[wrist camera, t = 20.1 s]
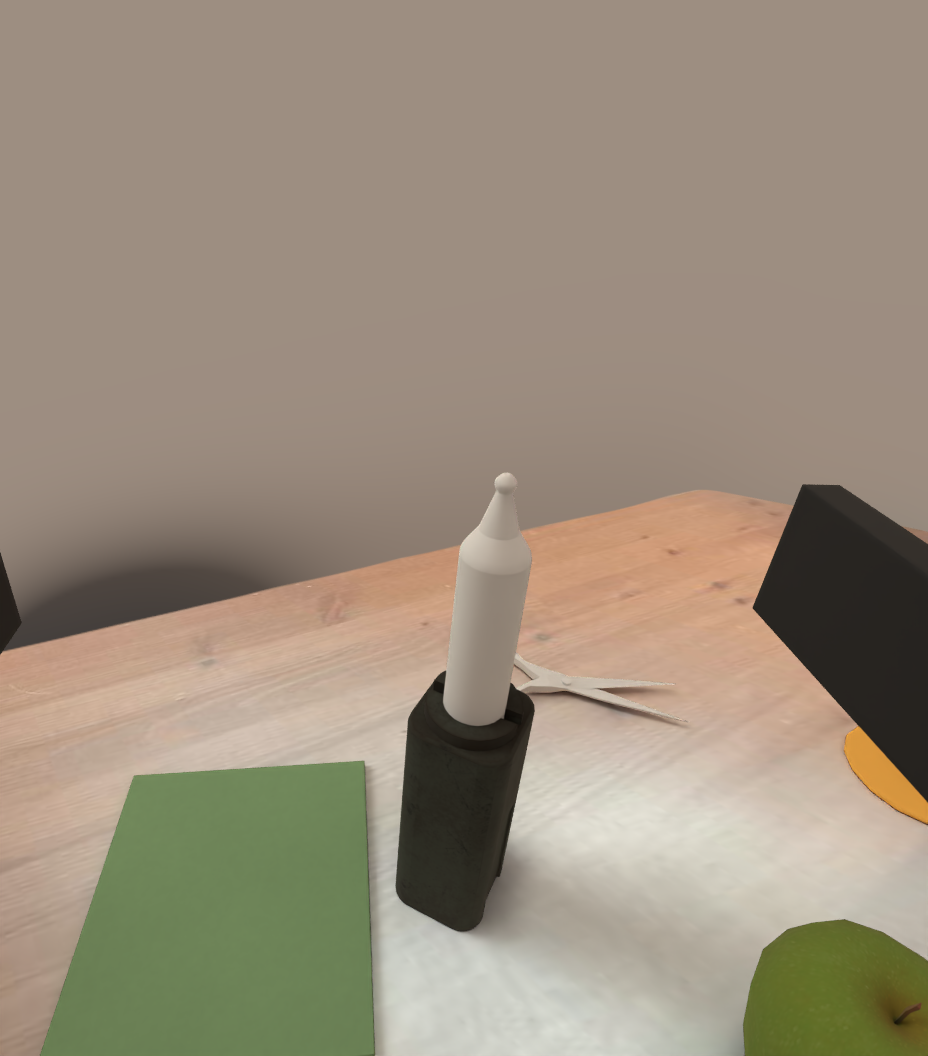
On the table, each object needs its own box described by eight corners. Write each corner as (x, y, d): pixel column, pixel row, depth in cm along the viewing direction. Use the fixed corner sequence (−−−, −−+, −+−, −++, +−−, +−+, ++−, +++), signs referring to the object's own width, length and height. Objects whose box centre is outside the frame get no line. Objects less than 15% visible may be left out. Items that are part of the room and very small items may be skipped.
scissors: (439, 621, 55) (674, 654, 54) (439, 628, 55) (672, 661, 54) (418, 711, 45) (702, 753, 44) (418, 719, 46) (699, 761, 45)
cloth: (24, 1111, 26) (22, 1107, 25) (134, 779, 39) (133, 775, 39) (374, 1057, 28) (374, 1053, 28) (364, 764, 42) (364, 760, 42)
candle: (429, 821, 39) (472, 437, 27) (507, 857, 37) (590, 467, 25) (387, 895, 35) (414, 480, 22) (473, 940, 33) (552, 520, 21)
